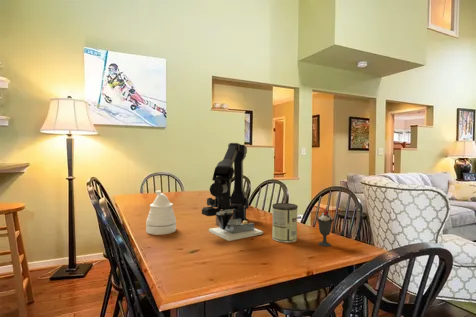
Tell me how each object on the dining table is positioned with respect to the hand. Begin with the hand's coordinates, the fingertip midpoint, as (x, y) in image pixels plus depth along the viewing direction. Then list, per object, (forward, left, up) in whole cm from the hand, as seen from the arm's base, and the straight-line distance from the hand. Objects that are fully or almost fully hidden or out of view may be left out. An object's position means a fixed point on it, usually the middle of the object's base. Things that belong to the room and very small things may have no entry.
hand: (223, 229), depth 120 cm
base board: (-6, +1, -2) cm, 6 cm away
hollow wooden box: (-9, -13, -2) cm, 16 cm away
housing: (-7, 0, -1) cm, 7 cm away
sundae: (-26, +33, -2) cm, 42 cm away
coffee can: (-18, +19, -2) cm, 26 cm away
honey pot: (+20, -20, -2) cm, 29 cm away
